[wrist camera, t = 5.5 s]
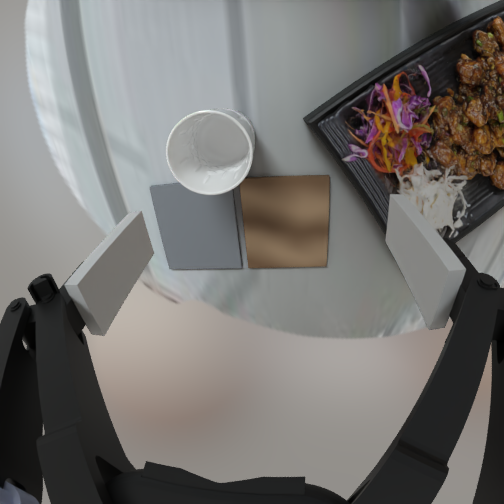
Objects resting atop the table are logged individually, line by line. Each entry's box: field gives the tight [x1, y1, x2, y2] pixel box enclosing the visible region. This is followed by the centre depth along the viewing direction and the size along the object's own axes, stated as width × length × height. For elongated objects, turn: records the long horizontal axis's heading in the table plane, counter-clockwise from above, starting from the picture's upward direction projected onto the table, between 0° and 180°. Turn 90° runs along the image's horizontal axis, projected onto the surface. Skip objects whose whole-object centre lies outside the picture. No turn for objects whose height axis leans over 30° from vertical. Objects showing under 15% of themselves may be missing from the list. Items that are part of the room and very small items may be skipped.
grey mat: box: [150, 183, 242, 269], centre depth 40 cm, size 13×11×1 cm
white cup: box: [166, 108, 255, 195], centre depth 29 cm, size 8×8×10 cm
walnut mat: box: [240, 175, 330, 268], centre depth 38 cm, size 13×11×1 cm
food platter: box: [303, 0, 504, 243], centre depth 23 cm, size 45×25×10 cm, turn 131°
